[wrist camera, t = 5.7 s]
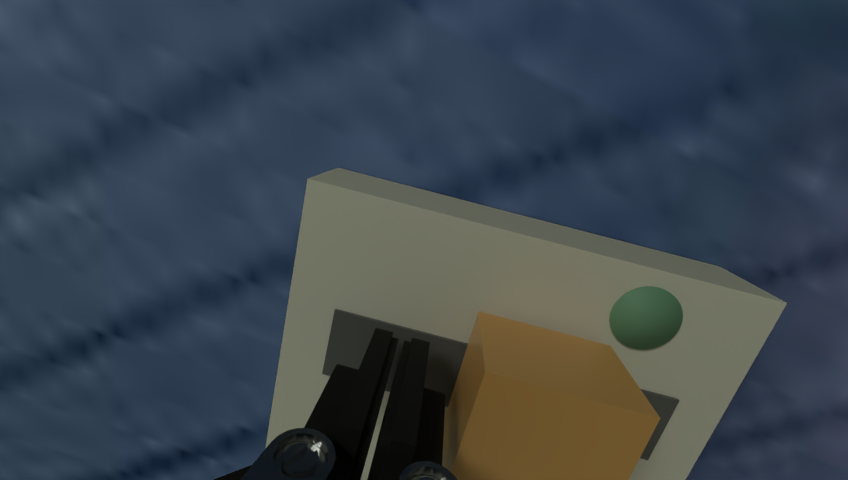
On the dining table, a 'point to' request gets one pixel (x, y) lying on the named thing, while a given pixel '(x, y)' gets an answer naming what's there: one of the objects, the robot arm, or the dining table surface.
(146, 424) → the dining table surface
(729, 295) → the switch panel
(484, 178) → the dining table surface
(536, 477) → the tab
